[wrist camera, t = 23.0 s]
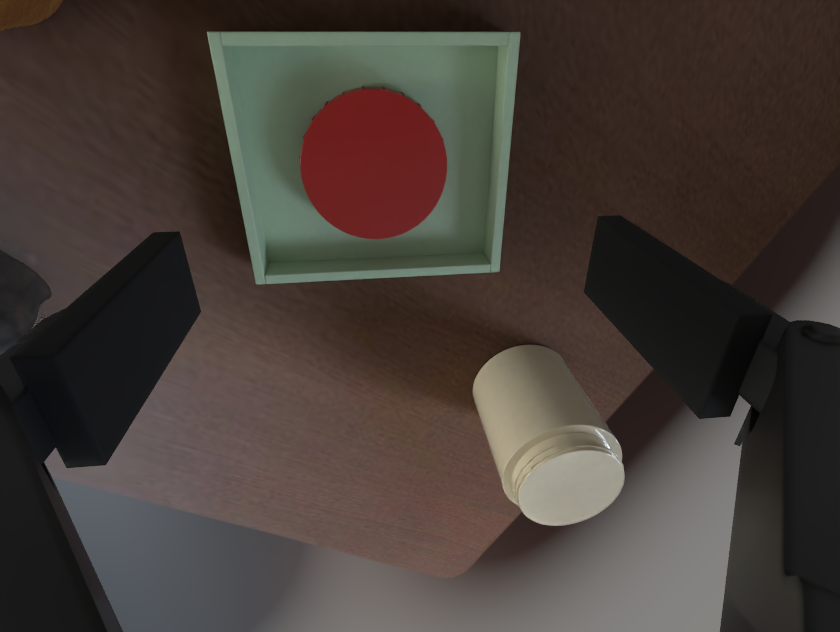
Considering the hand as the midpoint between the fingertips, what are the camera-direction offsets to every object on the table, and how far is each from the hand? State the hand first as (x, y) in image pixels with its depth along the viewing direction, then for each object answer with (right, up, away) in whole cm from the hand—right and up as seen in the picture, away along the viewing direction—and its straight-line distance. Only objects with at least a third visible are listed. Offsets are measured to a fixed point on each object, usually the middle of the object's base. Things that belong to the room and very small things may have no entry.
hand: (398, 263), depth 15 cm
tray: (-2, +8, +13) cm, 15 cm away
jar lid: (-2, +7, +11) cm, 13 cm away
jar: (+9, -7, +23) cm, 26 cm away
